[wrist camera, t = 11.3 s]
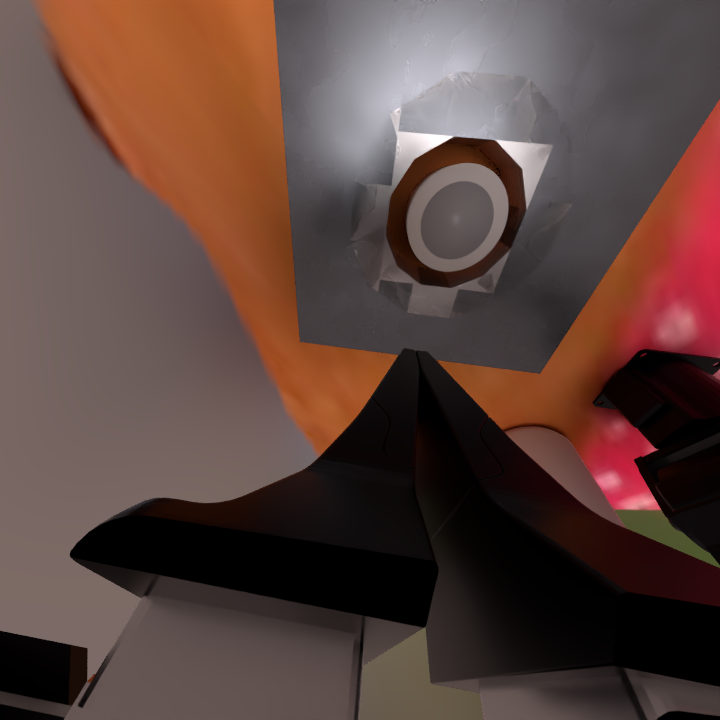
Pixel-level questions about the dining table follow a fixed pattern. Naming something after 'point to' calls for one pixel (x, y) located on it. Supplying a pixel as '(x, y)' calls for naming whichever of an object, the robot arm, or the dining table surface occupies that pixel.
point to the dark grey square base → (496, 140)
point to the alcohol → (564, 467)
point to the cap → (456, 216)
